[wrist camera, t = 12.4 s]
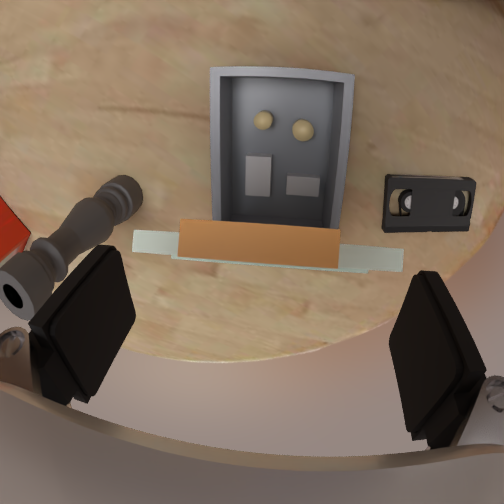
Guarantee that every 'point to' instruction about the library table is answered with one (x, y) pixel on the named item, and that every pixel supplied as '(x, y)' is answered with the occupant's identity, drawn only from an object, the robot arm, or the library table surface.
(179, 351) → the library table surface
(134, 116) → the library table surface
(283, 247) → the lid
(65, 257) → the candle holder
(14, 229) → the file binder
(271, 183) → the tub
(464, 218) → the vhs tape
